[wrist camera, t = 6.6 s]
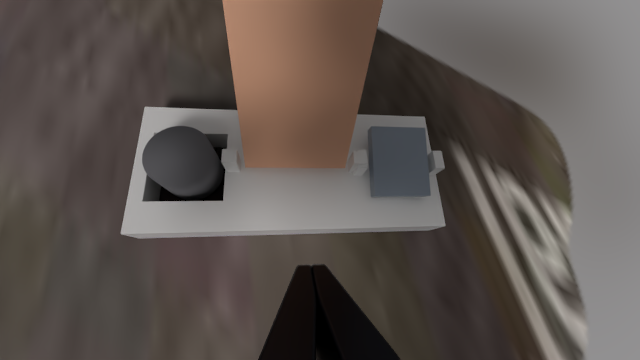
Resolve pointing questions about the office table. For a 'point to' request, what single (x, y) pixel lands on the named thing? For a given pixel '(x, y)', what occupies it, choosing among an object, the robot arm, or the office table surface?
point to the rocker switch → (398, 162)
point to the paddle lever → (299, 77)
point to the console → (276, 188)
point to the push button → (183, 162)
